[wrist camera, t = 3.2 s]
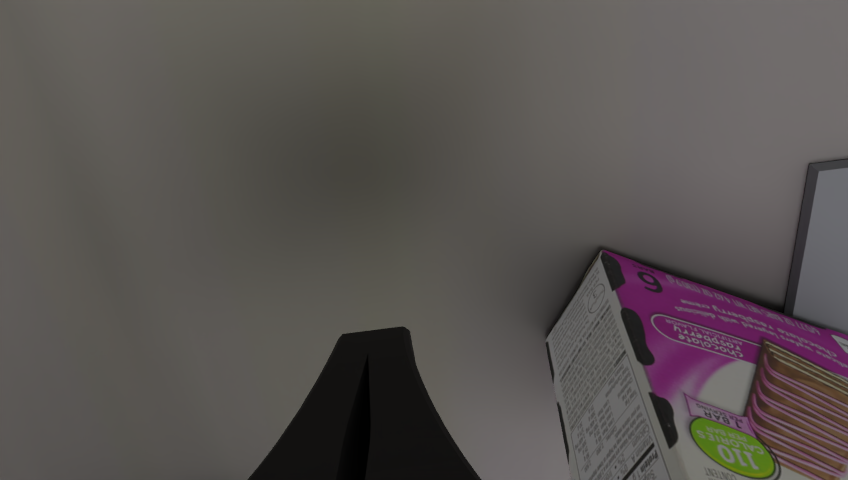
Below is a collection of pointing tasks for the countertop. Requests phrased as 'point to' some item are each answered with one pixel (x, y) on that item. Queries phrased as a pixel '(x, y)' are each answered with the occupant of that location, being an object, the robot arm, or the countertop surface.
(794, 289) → the mat
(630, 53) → the countertop surface
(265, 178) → the countertop surface
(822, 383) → the candy bar box
